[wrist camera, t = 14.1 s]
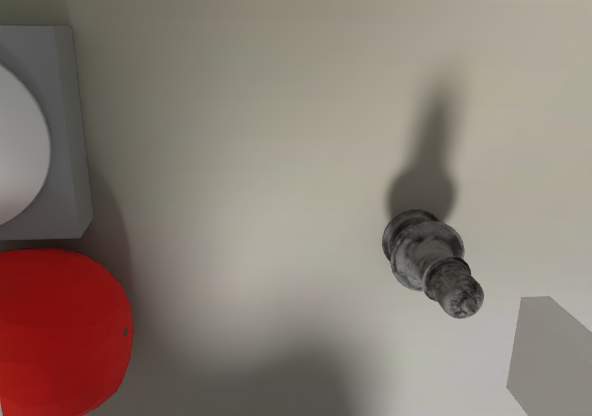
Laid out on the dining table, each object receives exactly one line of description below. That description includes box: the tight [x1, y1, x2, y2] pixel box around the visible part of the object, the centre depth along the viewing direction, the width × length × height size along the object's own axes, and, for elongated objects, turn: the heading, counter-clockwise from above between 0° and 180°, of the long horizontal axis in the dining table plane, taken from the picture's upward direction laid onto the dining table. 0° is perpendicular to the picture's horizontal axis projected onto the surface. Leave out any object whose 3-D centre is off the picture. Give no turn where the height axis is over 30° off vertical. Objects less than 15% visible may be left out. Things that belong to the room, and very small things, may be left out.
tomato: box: [0, 248, 134, 416], centre depth 38 cm, size 13×13×13 cm
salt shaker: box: [382, 210, 484, 319], centre depth 39 cm, size 6×6×12 cm
